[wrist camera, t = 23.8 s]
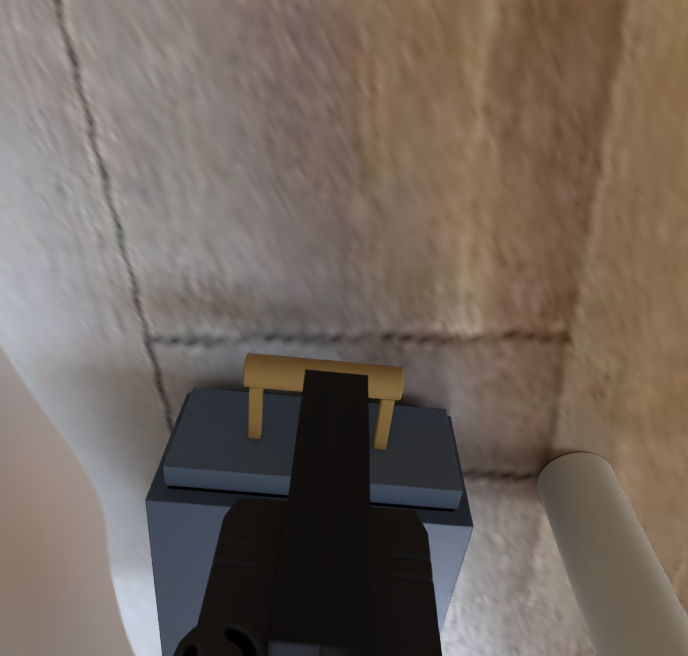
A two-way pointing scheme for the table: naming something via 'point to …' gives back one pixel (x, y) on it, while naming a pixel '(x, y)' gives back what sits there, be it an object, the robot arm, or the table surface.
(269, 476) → the drawer
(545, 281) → the table surface
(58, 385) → the table surface
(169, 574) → the cabinet
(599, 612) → the candle
